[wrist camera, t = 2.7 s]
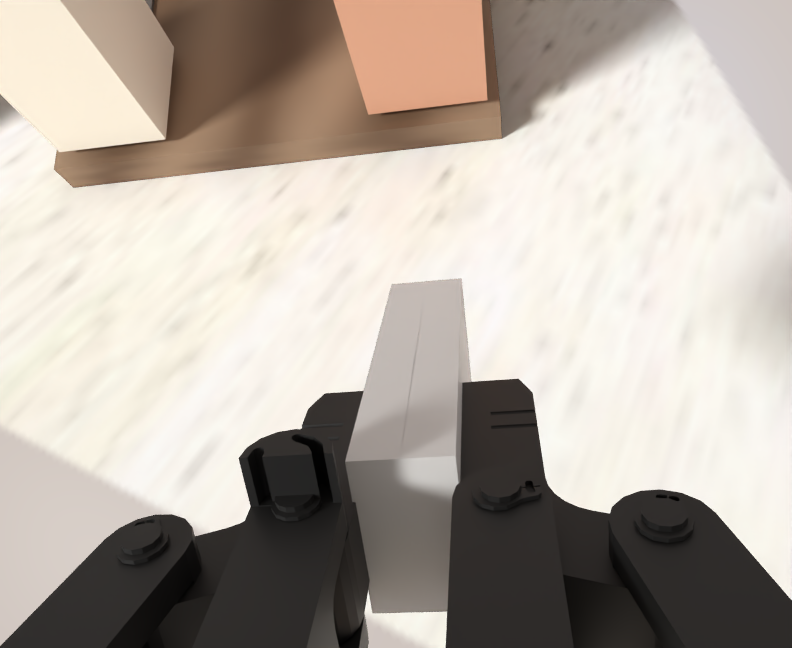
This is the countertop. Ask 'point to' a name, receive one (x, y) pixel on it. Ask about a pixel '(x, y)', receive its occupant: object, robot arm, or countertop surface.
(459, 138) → the walnut track board
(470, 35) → the tall salmon pillar
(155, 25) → the tall white pillar
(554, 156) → the countertop surface
